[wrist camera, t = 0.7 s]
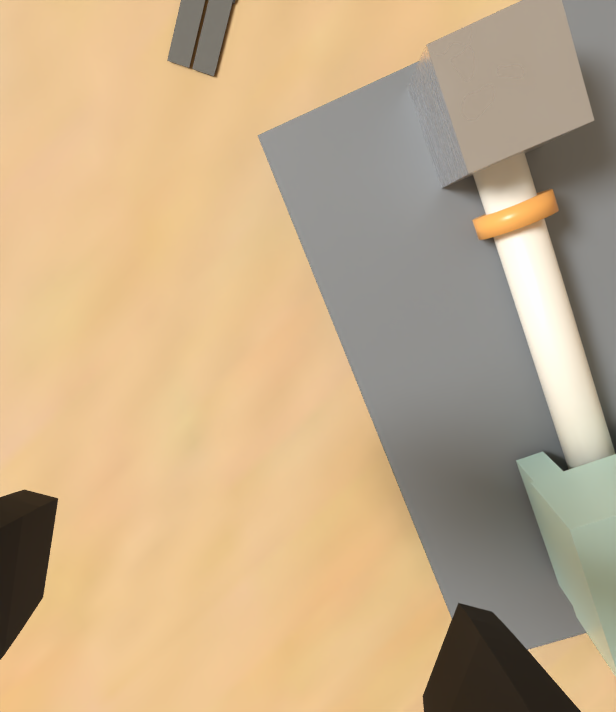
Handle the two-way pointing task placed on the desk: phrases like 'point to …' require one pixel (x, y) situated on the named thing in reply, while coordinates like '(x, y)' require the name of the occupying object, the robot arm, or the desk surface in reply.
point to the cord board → (459, 318)
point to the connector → (499, 89)
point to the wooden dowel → (543, 305)
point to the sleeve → (580, 538)
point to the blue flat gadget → (208, 39)
